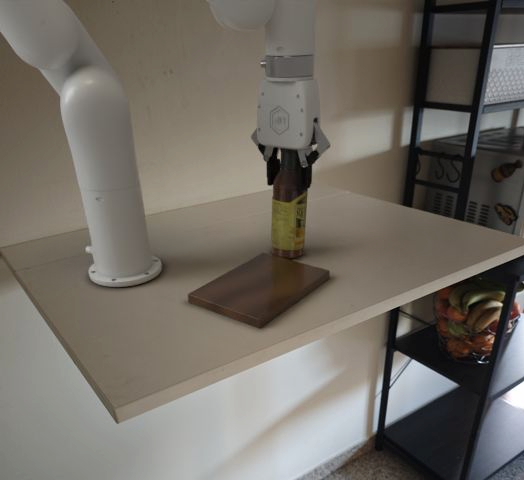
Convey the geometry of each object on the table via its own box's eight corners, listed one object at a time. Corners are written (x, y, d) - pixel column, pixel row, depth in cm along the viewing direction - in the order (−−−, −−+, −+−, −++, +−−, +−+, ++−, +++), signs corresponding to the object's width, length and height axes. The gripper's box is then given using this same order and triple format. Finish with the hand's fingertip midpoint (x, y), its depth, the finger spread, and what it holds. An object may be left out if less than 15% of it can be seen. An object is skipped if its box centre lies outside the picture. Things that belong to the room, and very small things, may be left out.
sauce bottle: (300, 261, 91) (307, 147, 80) (267, 258, 92) (269, 145, 81) (306, 248, 96) (313, 138, 85) (274, 245, 97) (277, 136, 86)
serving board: (188, 302, 79) (187, 293, 78) (263, 260, 92) (263, 252, 91) (259, 328, 72) (259, 319, 71) (329, 278, 85) (329, 270, 84)
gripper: (231, 69, 79) (237, 184, 89) (325, 72, 71) (320, 200, 81) (259, 65, 84) (262, 175, 94) (350, 68, 76) (342, 188, 86)
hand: (288, 185), depth 87 cm, fingers closed on sauce bottle, 5 cm apart
